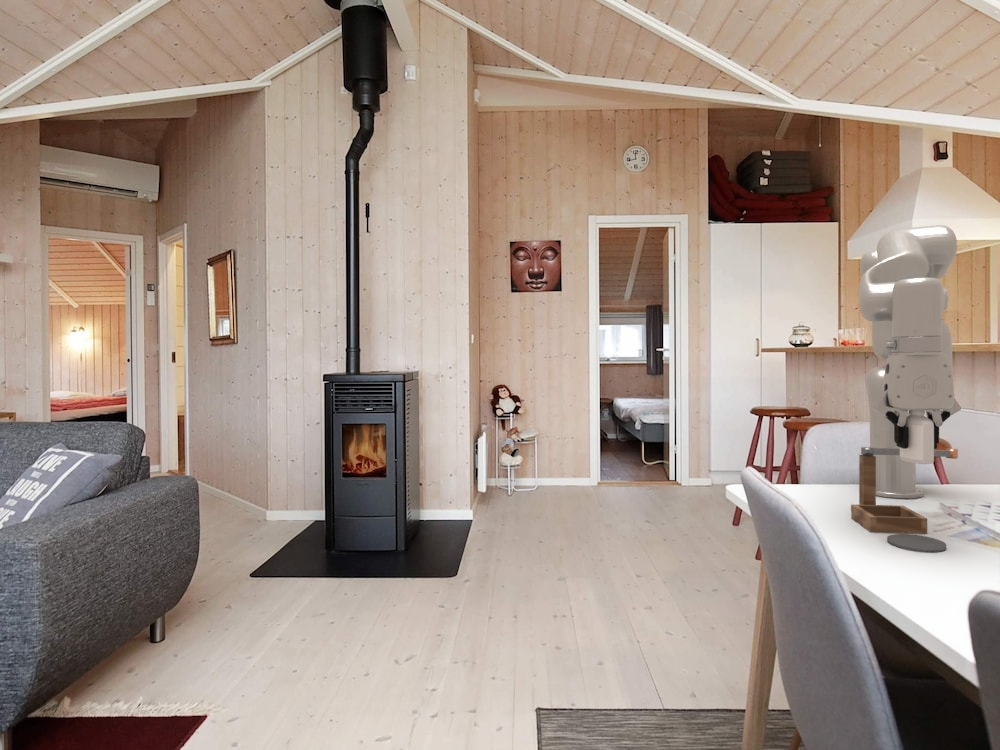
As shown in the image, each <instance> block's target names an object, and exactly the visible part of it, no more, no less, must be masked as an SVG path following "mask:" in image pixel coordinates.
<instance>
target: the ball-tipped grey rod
mask: <svg viewBox="0 0 1000 750" xmlns="http://www.w3.org/2000/svg"><path fill="white" fill-rule="evenodd" d="M860 455H900V449H891V448H871V447H870V446H862V447H860ZM934 457H941V458H942V457H943V458H946V459H955V460H956V459H958V458H959V449H958V448H950V447H949V448H945V449H934Z"/></svg>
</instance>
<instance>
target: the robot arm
mask: <svg viewBox="0 0 1000 750" xmlns="http://www.w3.org/2000/svg"><path fill="white" fill-rule="evenodd" d="M953 230H954V229H953ZM953 230H952V228H950V227H949V226H947V225H942V224H941V225H940V224H937V225H929V226H928V225H927V226H914V227H904V228H898V229H893V230H890V231H889V232H887V233H885V234H883V235H882V236H881V237H880V239H879V240H878V242H877V245H876V249H874V250H873V249H871V250H870V251H868V252H866V253H864V254H863V255H862V256H861V258H860V263H859V271H860V277H861V279H860V281H859V283H858V289H857V290H858V291H857V293H858V307H859V311H860V314H861V316H862V317H863V318H864V319H865V320H866V321H868V322H871V340H872V341H871V343H872V350H873V353H874V355H875V356H876V357H877V358H879V359H883V360H886V364H885V365H878V366H875V367H873V368H871V369H870V370H868V371H867V373H866V376H865V389H866V394H867V401H868V409H869V447H871V448H891V449H900V448H903V449H907V448H908V427H906V423H905V422H906V417H907V416H909V415H911V414H909V410H925V417H927V418H929V419H930V420H931V421H932V422H933V424H934V450H938V449H937V448H938V444H939V442H940V427H942V426H943V424H944V422H946V420H948V419H949V418H951V416H952V415H955V414H956V413H958V412H960V411H962V410H961V409H962V407H961V405H960V404H959V402H958V401H957V400H956V398H955V387H954V386H955V385H954V377H953V376H954V375H953V340H952V334H951V329H950V328H949V327H950V326H949V325H948V323H946V322H945V321H943V313H944V312H945V311H947V309H948V304H949V295H948V289H947V288H945V287H944V285H943V284H942V281H941V279H942V278H944V277H945V276H946V274H947V273H948V271H949V270H950V268H951V266H952V264H953V262H954V261H955V259H956V255H957V253H958V252H957V251H958V240H957V236H956V233H955V232H954V231H953ZM873 456H875V457H876V497H877V496H878V497H885V498H890V499H891V498H892V499H895V498H896V499H917V498H921V497H923V496H924V490H923V489H921V488H920V487H916V479H917V476H916V475H917V473H916V471H917V469H916V468H917V467H916V466H917V463H911V462H907V461H903V460H901V459H900V455H873Z"/></svg>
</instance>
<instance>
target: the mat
mask: <svg viewBox="0 0 1000 750" xmlns="http://www.w3.org/2000/svg"><path fill="white" fill-rule="evenodd" d="M886 542H887V543H888V544H889V545H891V546H893V547H895V548H899V549H903V550H907V551H912V552H916V553H917V552H918V553H919V552H920V553H941V552H945V551H947V543H946V542H944V541H942V540H940V539H938V538H934V537H930V536H926V535H922V534H910V533H892V534H889V535H888V536H886Z"/></svg>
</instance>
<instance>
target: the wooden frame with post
mask: <svg viewBox="0 0 1000 750" xmlns="http://www.w3.org/2000/svg"><path fill="white" fill-rule="evenodd" d="M858 459H859V460H858V461H859V464H858V465H859V467H858V469H859V470H858V472H859V473H858V474H859V475H858V477H859V481H858V483H859V484H858V485H859V486H858V488H859V489H858V490H859V491H858V492H859V493H858V494H859V499H858V502H859V503H858V504H853V503H852V504H850V506H851V507H850V511H851V512H850V513H851V514H850V519H851V520H853V521H854V522H855V523H857V524H858V525H860V526H861V527H863V528H864V529H865V530H867V531H868V532H870V533H883V534H886V533H887V534H888V533H889V534H913V535H928V518H927V517H926V516H924V515H922V514H920V513H917V511H914V510H912V509H910V508H908V507H907V506H905V505H894V504H892V505H891V504H885V505H884V504H877V495H876V457H875V456H873V455H862V454H859V456H858Z"/></svg>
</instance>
